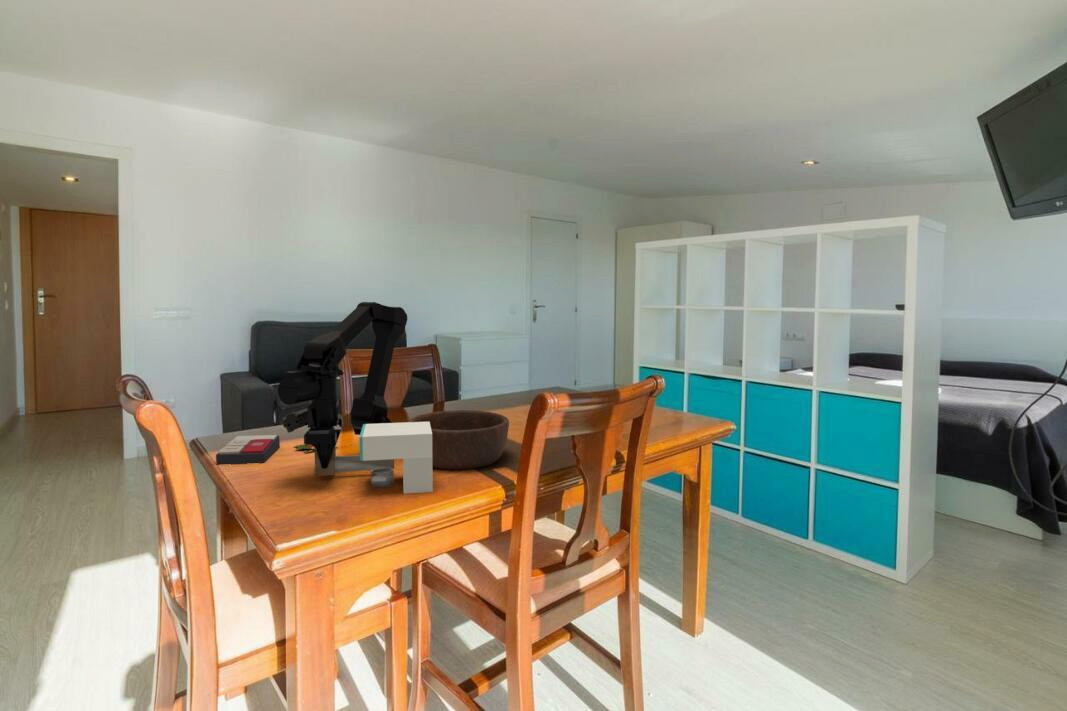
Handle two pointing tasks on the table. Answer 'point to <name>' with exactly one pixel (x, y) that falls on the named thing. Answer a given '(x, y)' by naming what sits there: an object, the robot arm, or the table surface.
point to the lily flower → (304, 448)
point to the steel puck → (382, 478)
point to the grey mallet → (350, 464)
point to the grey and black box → (248, 449)
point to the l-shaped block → (402, 450)
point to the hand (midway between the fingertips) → (325, 465)
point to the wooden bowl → (465, 438)
